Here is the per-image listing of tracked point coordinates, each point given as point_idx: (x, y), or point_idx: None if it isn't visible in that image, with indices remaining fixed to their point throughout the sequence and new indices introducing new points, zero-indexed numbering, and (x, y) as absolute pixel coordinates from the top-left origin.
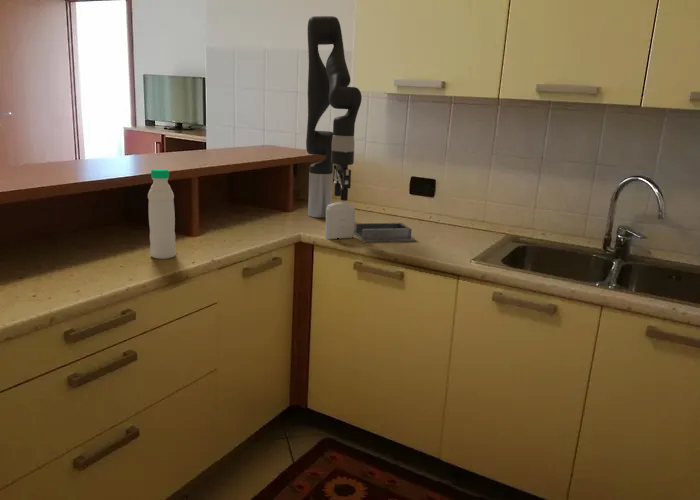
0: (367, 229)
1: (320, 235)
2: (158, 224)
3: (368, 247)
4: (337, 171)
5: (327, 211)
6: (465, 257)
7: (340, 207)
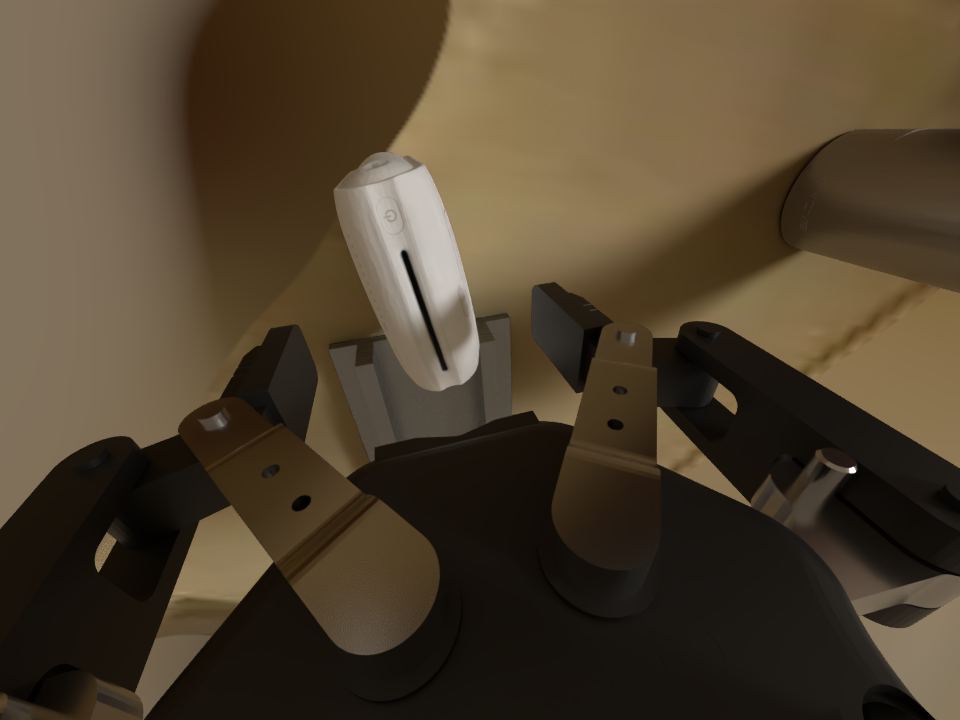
0: (367, 382)
1: (449, 129)
2: None
3: (234, 351)
4: (334, 618)
5: (359, 169)
6: (205, 587)
7: (367, 294)
